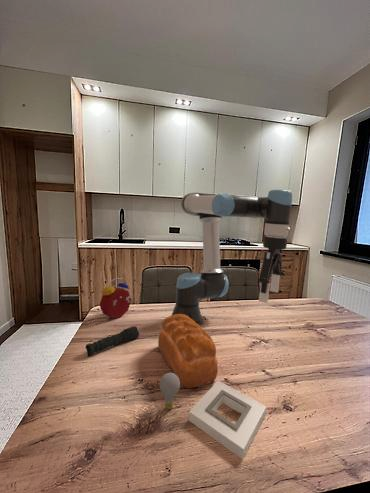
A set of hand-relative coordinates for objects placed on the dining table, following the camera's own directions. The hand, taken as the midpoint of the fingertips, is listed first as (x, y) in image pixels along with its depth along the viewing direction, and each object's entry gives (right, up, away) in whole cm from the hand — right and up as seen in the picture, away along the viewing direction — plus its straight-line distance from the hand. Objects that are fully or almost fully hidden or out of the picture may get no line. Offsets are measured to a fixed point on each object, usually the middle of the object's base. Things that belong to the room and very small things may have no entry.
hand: (268, 296), depth 82 cm
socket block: (-18, -28, -20) cm, 39 cm away
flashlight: (-58, -22, +10) cm, 63 cm away
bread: (-30, -25, +2) cm, 39 cm away
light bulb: (-34, -27, -18) cm, 47 cm away
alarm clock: (-64, -18, +35) cm, 75 cm away
